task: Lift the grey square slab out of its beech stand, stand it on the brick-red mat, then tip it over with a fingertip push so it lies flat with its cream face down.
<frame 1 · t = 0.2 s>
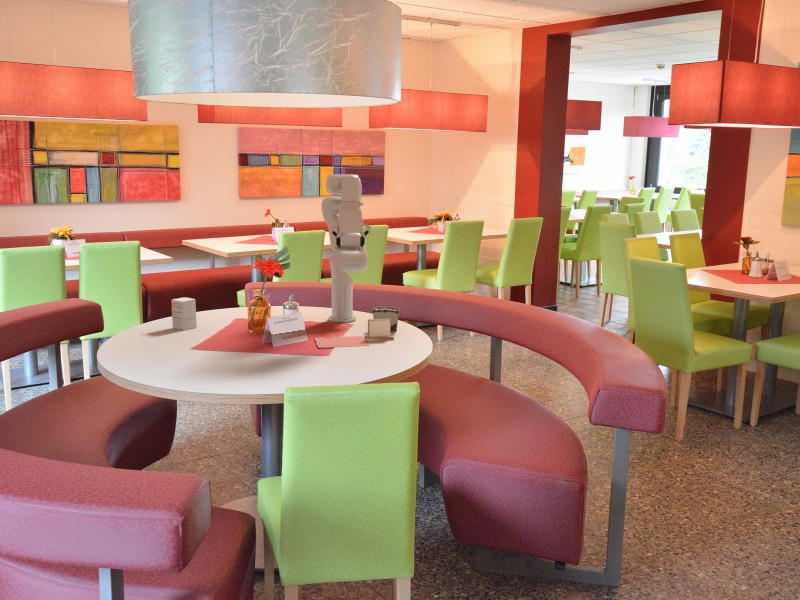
hand: (350, 246, 320), 36 cm above the table, tool pointing down, fingers open, 9 cm apart
stand: (379, 339, 314), on the table
grey square slab: (379, 338, 314), resting on stand
half round cake: (386, 330, 331), on the table
mat: (341, 342, 308), on the table
supplement box: (184, 328, 331), on the table
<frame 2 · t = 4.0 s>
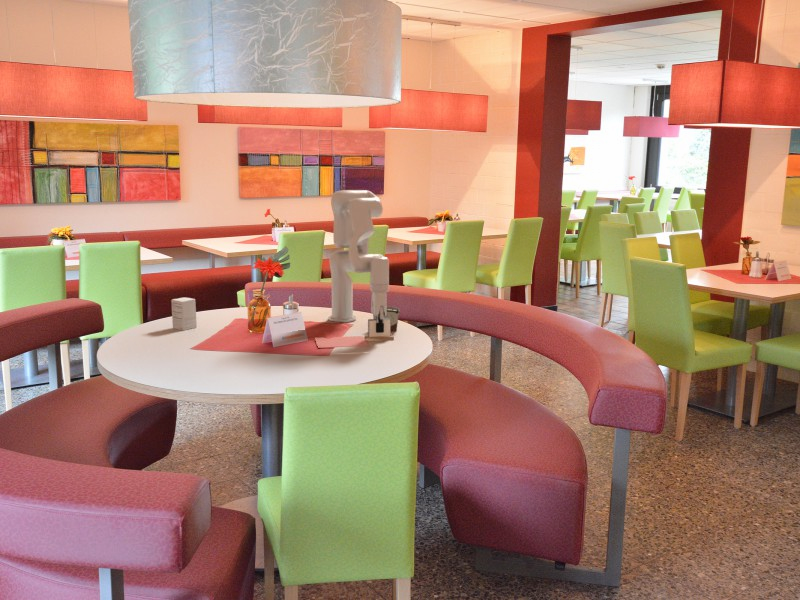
hand: (379, 331, 313), 3 cm above the table, tool pointing down, fingers closed on grey square slab, 1 cm apart
grey square slab: (379, 338, 314), resting on stand, touching gripper
everything else where it was.
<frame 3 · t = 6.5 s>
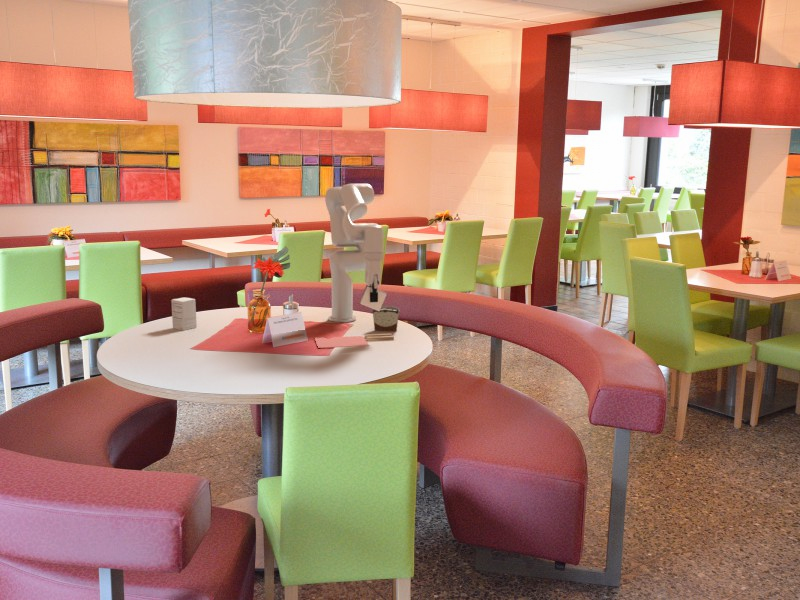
hand: (373, 301, 310), 16 cm above the table, tool pointing down, fingers closed on grey square slab, 1 cm apart
grey square slab: (369, 307, 311), point 13 cm above the table, tilted 23°, touching gripper
everything else where it was.
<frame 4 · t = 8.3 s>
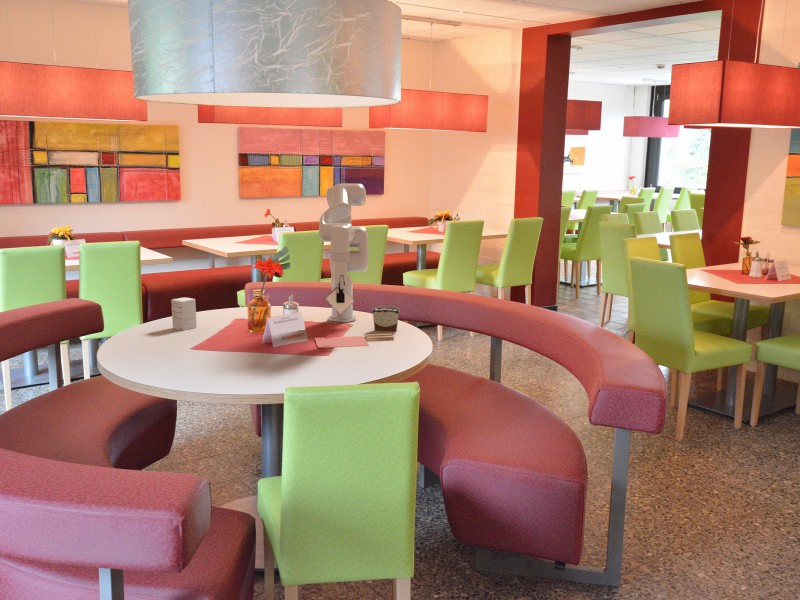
hand: (340, 301, 308), 16 cm above the table, tool pointing down, fingers closed on grey square slab, 1 cm apart
grey square slab: (332, 306, 307), point 14 cm above the table, tilted 47°, touching gripper
everything else where it was.
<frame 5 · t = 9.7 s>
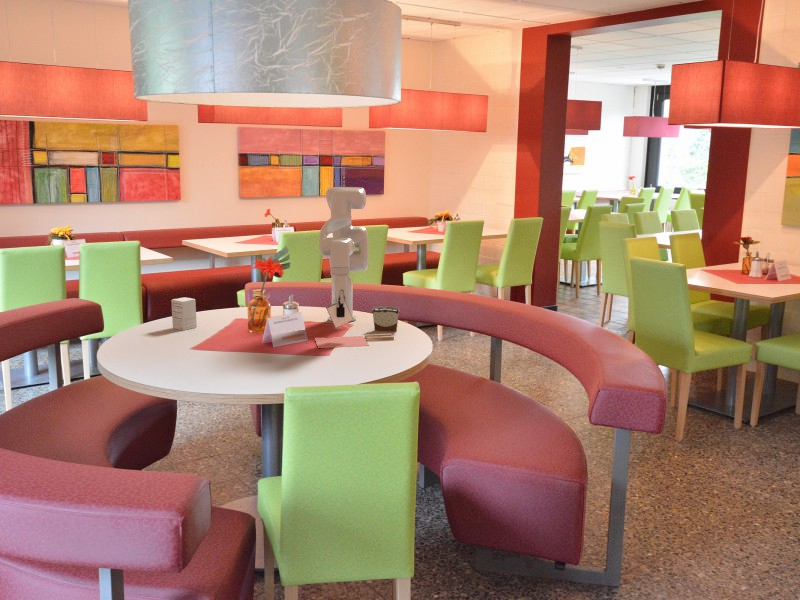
hand: (340, 316, 309), 10 cm above the table, tool pointing down, fingers closed on grey square slab, 1 cm apart
grey square slab: (330, 317, 308), point 10 cm above the table, tilted 67°, touching gripper
everything else where it was.
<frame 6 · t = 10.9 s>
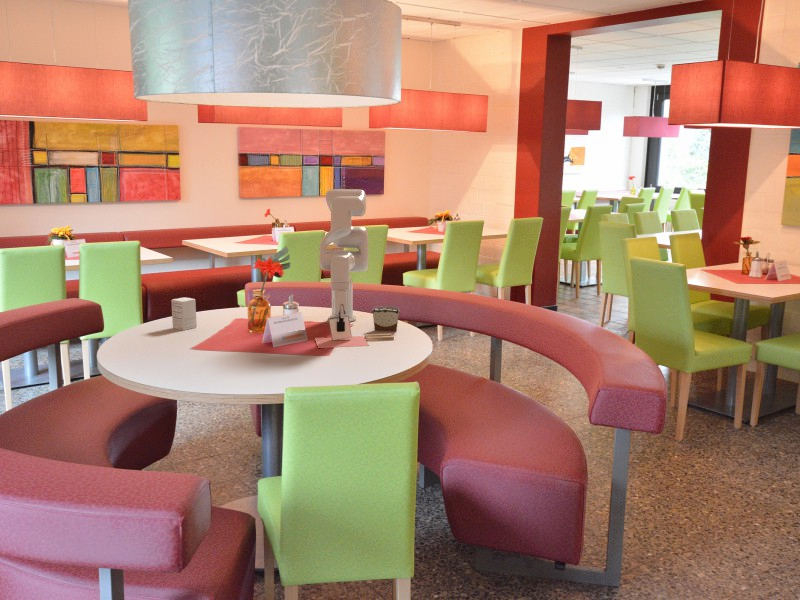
hand: (340, 330, 310), 4 cm above the table, tool pointing down, fingers closed on grey square slab, 2 cm apart
grey square slab: (330, 329, 309), point 5 cm above the table, tilted 82°, touching gripper, mat
everything else where it was.
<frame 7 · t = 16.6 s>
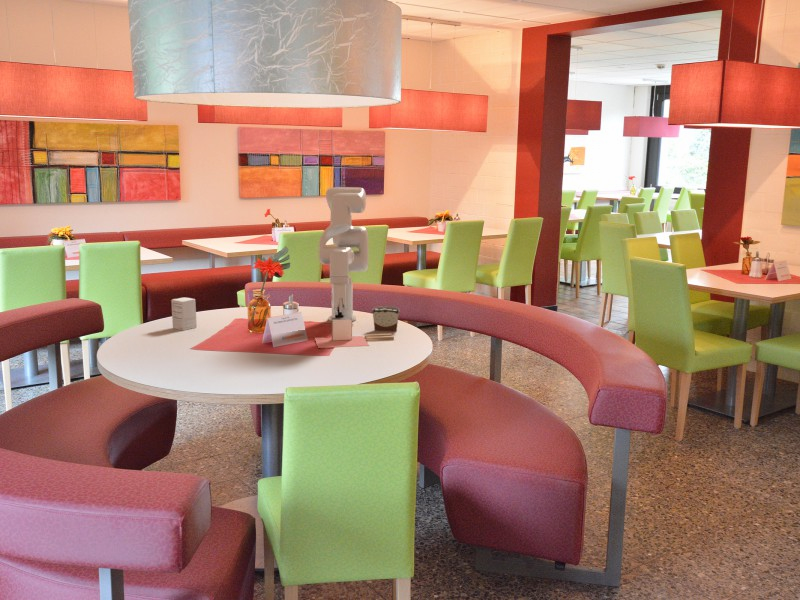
hand: (339, 324, 312), 6 cm above the table, tool pointing down, fingers closed
grey square slab: (331, 329, 309), point 5 cm above the table, tilted 90°, touching gripper, mat
everything else where it was.
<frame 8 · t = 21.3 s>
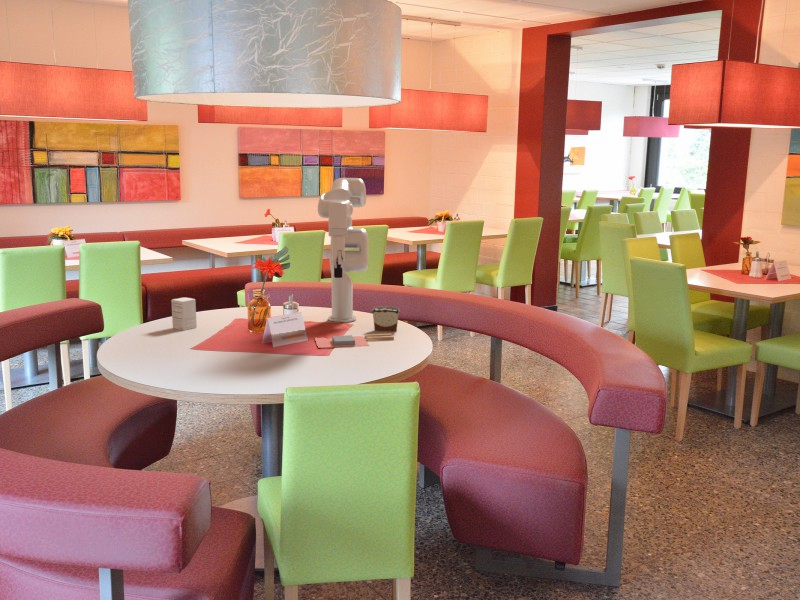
hand: (338, 277, 312), 25 cm above the table, tool pointing down, fingers closed
grey square slab: (333, 341, 304), point 1 cm above the table, tilted 90°, touching mat
everything else where it was.
at the end: grey square slab tilted 90°; grey square slab inside the target area (3.8 cm from its centre), point 1.5 cm above the table; the gripper is holding nothing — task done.
